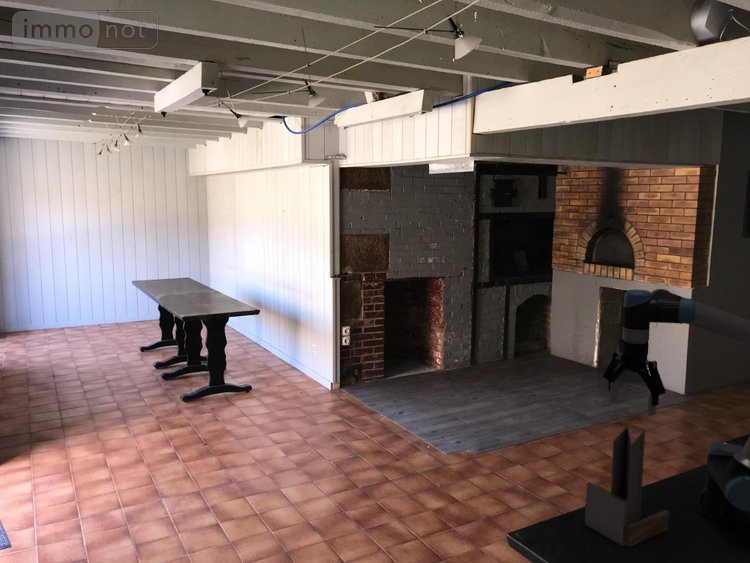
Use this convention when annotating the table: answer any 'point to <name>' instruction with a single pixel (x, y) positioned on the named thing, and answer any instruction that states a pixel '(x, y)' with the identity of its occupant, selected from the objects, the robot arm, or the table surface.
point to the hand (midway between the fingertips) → (631, 408)
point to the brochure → (628, 472)
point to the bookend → (606, 513)
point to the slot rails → (646, 527)
